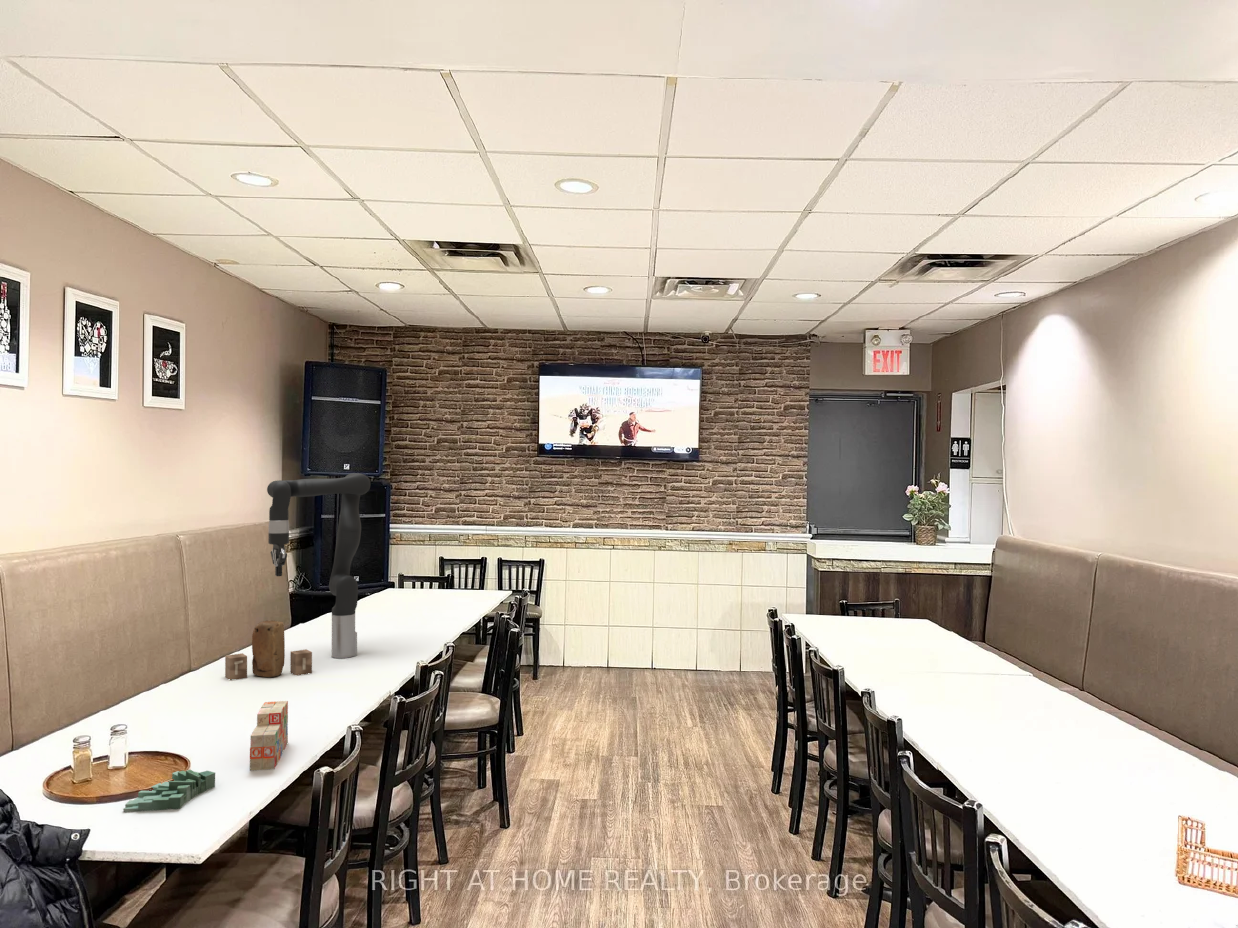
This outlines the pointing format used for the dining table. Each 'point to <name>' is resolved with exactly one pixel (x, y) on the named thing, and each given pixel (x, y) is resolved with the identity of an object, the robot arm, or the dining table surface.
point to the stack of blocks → (269, 735)
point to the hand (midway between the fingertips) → (278, 575)
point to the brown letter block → (236, 666)
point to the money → (172, 792)
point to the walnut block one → (301, 662)
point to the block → (268, 648)
